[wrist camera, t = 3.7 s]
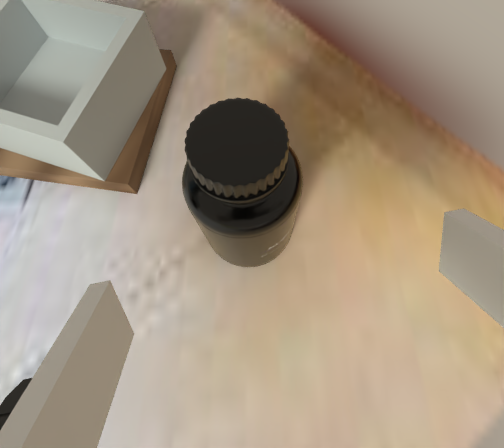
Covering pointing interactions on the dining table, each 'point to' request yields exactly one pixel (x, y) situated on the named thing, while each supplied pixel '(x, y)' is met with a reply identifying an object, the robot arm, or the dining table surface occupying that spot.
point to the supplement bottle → (242, 180)
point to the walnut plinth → (127, 164)
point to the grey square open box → (74, 80)
